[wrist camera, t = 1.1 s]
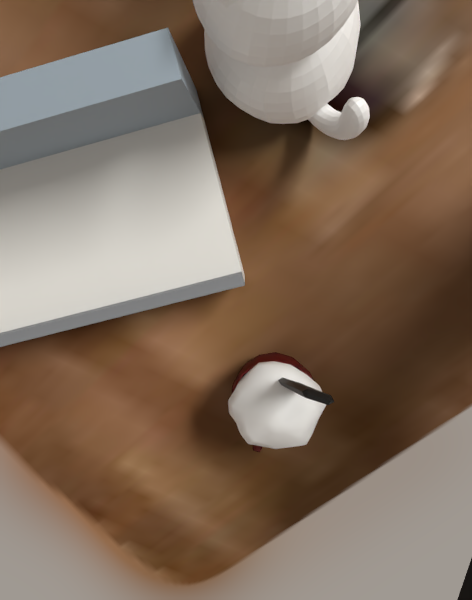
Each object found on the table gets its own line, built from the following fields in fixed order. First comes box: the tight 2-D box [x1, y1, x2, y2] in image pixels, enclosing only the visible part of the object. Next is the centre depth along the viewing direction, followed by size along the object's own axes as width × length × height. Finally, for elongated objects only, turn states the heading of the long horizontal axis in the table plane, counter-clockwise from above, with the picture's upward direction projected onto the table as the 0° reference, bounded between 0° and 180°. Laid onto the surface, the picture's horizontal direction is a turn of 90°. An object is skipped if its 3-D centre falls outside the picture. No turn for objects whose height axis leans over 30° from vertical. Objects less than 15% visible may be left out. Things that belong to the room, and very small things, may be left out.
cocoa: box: [228, 352, 334, 452], centre depth 29 cm, size 10×6×12 cm, turn 140°
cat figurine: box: [193, 0, 370, 140], centre depth 23 cm, size 9×12×15 cm
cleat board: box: [0, 28, 245, 347], centre depth 27 cm, size 18×13×12 cm
